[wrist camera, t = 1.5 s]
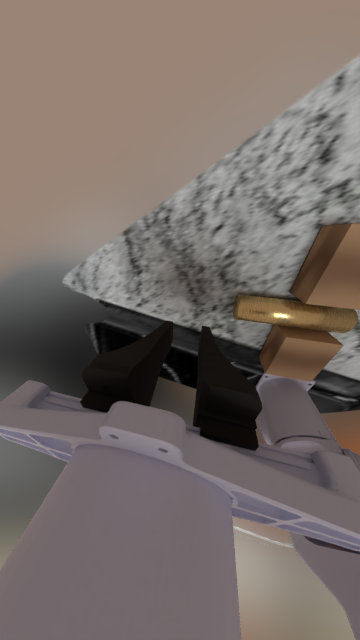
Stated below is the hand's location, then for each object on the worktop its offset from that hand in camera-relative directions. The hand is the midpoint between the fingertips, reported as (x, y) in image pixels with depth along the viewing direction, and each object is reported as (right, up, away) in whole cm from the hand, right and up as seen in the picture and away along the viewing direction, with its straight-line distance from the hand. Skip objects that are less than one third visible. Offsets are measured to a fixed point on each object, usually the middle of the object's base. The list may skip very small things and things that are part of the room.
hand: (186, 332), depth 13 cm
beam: (+16, +2, +5) cm, 17 cm away
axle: (+13, +3, +6) cm, 14 cm away
